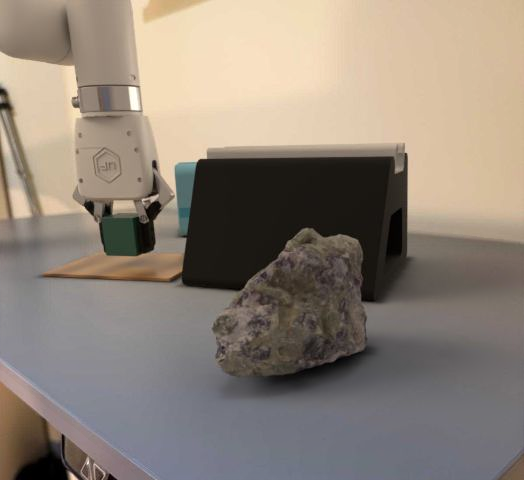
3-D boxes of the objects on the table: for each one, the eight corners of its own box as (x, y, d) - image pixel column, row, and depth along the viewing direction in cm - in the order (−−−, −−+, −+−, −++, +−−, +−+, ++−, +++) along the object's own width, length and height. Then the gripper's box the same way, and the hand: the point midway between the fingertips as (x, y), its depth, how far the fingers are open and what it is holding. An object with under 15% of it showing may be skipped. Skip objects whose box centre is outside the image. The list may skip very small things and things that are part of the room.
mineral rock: (218, 399, 36) (208, 249, 32) (203, 343, 46) (194, 223, 42) (400, 379, 38) (410, 235, 34) (348, 329, 48) (352, 214, 44)
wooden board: (43, 276, 70) (42, 273, 70) (100, 254, 83) (100, 251, 83) (169, 281, 66) (169, 278, 66) (210, 257, 78) (210, 254, 78)
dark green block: (106, 255, 72) (100, 217, 70) (123, 248, 76) (118, 212, 74) (137, 256, 71) (132, 218, 69) (152, 249, 75) (148, 213, 73)
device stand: (256, 249, 82) (253, 144, 77) (406, 257, 74) (415, 141, 69) (182, 286, 63) (170, 150, 58) (373, 302, 55) (381, 146, 50)
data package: (205, 236, 94) (201, 164, 90) (179, 237, 94) (173, 165, 90) (207, 226, 105) (203, 161, 101) (184, 227, 105) (178, 162, 101)
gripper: (33, 106, 66) (59, 255, 72) (160, 100, 61) (175, 258, 68) (69, 109, 72) (90, 244, 79) (186, 102, 68) (197, 247, 75)
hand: (129, 249), depth 73 cm, fingers closed on dark green block, 4 cm apart
